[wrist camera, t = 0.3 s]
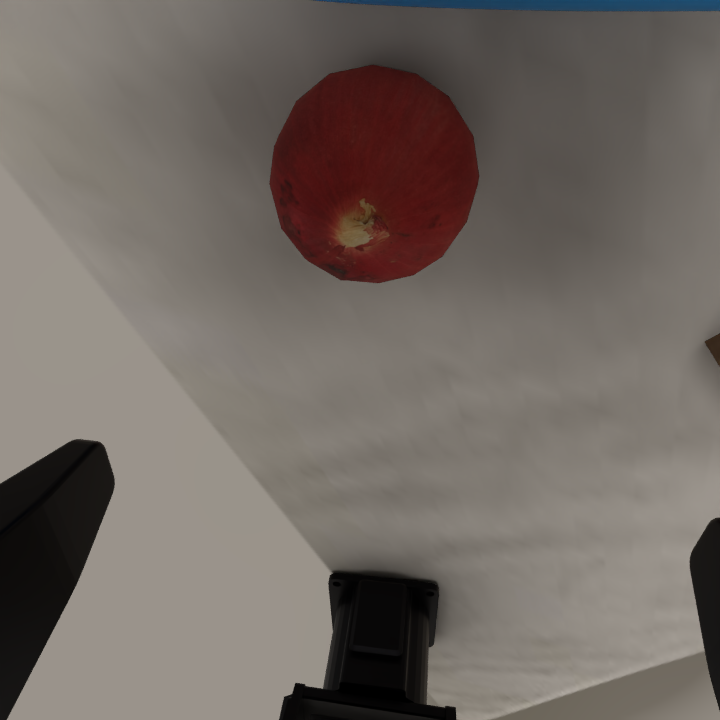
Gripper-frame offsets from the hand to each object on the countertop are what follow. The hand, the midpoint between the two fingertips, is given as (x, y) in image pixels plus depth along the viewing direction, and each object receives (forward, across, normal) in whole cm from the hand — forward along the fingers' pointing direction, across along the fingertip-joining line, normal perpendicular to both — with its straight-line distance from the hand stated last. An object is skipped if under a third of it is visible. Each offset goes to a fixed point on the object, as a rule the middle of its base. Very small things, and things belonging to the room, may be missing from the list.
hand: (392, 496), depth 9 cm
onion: (+14, +2, -1) cm, 15 cm away
